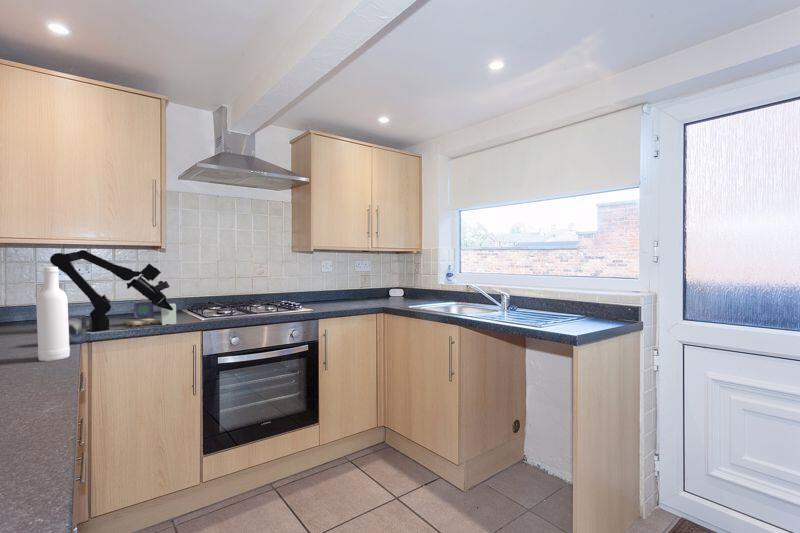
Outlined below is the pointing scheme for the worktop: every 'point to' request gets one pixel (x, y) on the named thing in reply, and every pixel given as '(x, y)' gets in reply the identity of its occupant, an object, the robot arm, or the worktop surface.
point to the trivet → (141, 322)
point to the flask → (143, 309)
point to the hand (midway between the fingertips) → (171, 308)
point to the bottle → (52, 319)
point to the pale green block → (168, 315)
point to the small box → (77, 329)
